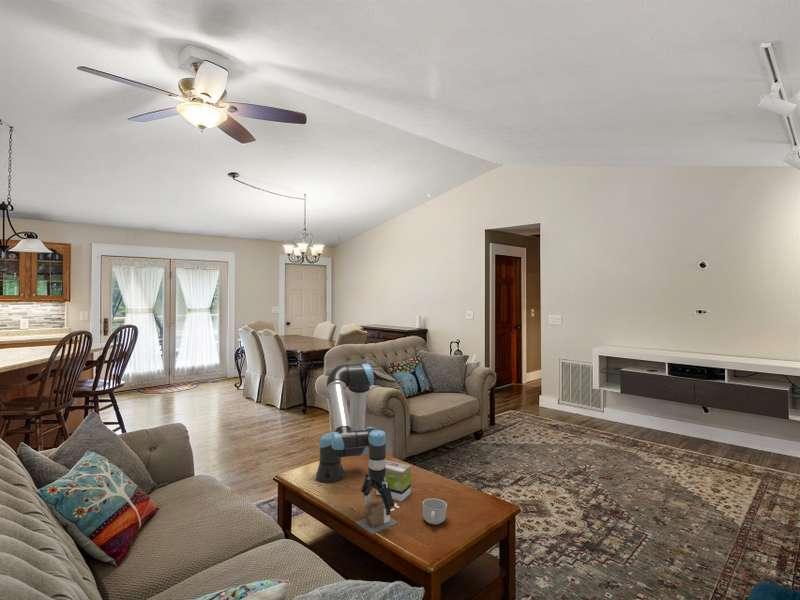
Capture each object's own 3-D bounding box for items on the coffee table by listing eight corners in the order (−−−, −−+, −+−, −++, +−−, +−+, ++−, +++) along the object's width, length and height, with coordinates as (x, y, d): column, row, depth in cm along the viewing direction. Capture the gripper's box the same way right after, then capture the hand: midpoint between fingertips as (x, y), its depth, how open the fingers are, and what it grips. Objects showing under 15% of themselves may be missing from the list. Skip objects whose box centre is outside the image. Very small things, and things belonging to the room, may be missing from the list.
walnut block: (364, 522, 190) (364, 504, 190) (380, 515, 196) (380, 498, 196) (372, 528, 185) (373, 509, 185) (389, 521, 191) (389, 503, 191)
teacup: (426, 513, 199) (426, 495, 199) (449, 517, 196) (449, 500, 195) (416, 528, 186) (416, 509, 186) (441, 533, 183) (441, 514, 182)
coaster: (355, 522, 191) (355, 522, 190) (380, 512, 200) (380, 511, 200) (372, 534, 181) (372, 533, 181) (398, 523, 191) (398, 522, 191)
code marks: (384, 508, 204) (384, 508, 204) (396, 503, 208) (396, 503, 208) (389, 511, 200) (389, 511, 200) (401, 506, 205) (401, 506, 205)
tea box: (375, 495, 217) (375, 465, 217) (385, 487, 226) (385, 459, 225) (402, 502, 210) (402, 471, 210) (411, 493, 219) (411, 464, 218)
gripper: (353, 461, 197) (353, 507, 197) (388, 478, 178) (388, 530, 179) (366, 457, 202) (366, 502, 202) (402, 474, 183) (402, 524, 184)
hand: (376, 515), depth 191 cm, fingers open, 13 cm apart
